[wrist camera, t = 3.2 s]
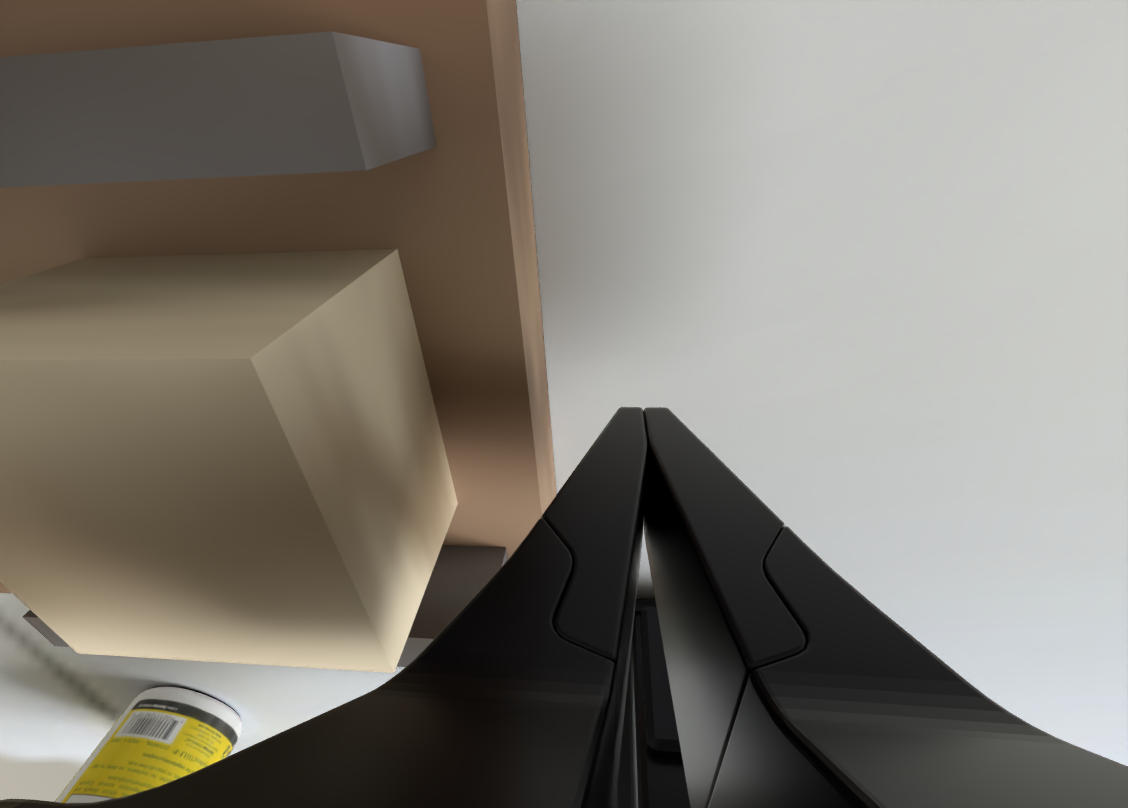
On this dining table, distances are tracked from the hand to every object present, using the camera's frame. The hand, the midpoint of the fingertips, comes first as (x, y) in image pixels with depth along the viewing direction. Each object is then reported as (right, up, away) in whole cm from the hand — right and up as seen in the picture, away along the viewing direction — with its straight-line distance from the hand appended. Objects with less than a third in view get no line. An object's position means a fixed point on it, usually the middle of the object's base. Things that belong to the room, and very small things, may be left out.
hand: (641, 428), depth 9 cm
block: (-7, +1, +2) cm, 7 cm away
